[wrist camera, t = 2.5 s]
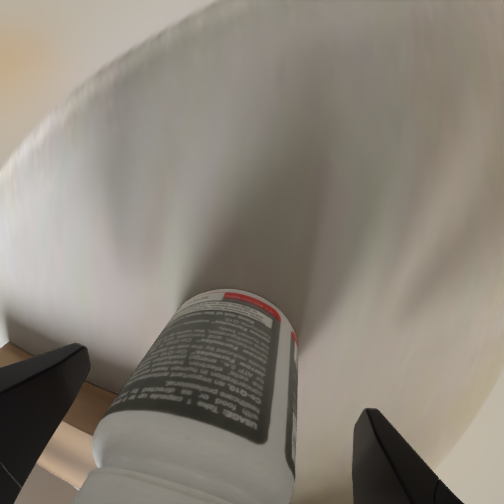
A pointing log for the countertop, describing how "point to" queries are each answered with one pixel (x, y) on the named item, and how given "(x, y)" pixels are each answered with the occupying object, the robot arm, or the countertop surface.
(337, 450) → the countertop surface
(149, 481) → the pill bottle
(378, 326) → the countertop surface
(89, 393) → the brown square block
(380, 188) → the countertop surface
